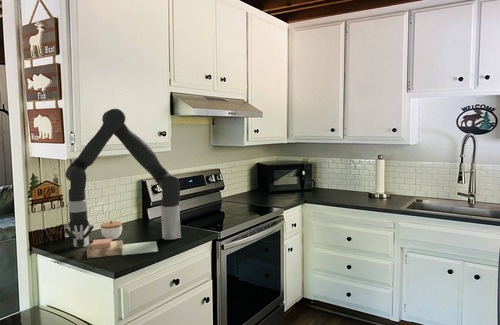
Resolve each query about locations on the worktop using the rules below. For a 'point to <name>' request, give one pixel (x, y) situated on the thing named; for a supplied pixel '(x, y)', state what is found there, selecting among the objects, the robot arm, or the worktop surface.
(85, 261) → the worktop surface
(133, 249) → the sage mat
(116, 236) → the lidded jar
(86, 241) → the skincare box
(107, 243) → the terracotta coaster
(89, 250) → the oak board
